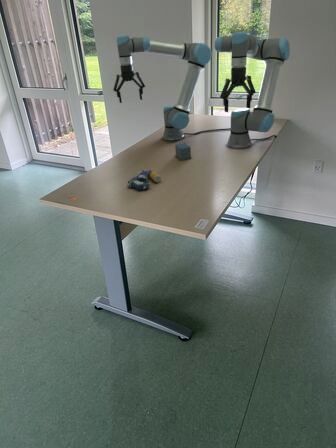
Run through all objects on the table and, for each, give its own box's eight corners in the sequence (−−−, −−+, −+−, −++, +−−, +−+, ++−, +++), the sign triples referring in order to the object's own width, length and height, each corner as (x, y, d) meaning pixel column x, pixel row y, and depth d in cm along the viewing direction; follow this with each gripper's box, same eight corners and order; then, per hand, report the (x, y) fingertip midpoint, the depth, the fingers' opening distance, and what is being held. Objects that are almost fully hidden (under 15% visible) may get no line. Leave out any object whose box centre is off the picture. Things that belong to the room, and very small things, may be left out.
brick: (181, 160, 208) (180, 148, 204) (175, 155, 215) (175, 144, 212) (190, 158, 210) (190, 146, 206) (185, 154, 217) (184, 142, 213)
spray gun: (166, 176, 187) (143, 174, 193) (165, 169, 185) (142, 167, 191) (148, 193, 172) (124, 189, 178) (147, 185, 170) (123, 182, 176)
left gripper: (107, 67, 197) (113, 104, 208) (147, 62, 203) (151, 99, 214) (104, 66, 203) (110, 102, 214) (144, 61, 209) (147, 97, 220)
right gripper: (220, 70, 163) (220, 114, 174) (264, 64, 170) (261, 107, 181) (213, 69, 169) (213, 112, 180) (255, 63, 176) (253, 105, 187)
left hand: (131, 101), depth 214 cm, fingers open, 13 cm apart
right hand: (237, 109), depth 180 cm, fingers open, 13 cm apart
